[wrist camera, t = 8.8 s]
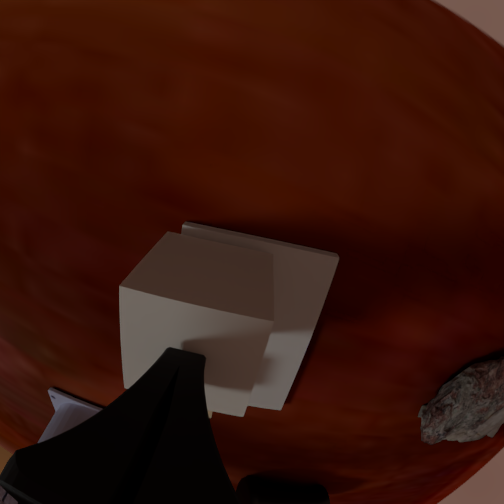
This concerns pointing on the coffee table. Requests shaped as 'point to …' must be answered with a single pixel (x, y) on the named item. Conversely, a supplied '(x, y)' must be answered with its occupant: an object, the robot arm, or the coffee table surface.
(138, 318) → the beige block
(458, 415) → the mineral rock
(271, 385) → the grey board
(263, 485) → the coffee pot
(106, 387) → the coffee table surface
